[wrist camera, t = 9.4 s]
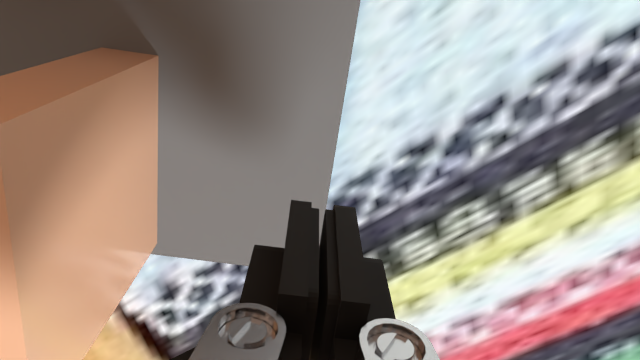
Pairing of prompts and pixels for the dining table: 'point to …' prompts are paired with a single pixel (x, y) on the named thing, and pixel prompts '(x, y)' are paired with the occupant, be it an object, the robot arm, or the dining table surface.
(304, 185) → the rubber mat
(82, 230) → the peach flat block
